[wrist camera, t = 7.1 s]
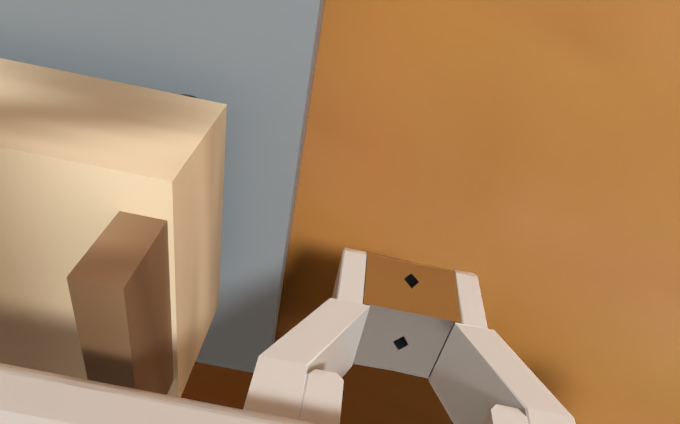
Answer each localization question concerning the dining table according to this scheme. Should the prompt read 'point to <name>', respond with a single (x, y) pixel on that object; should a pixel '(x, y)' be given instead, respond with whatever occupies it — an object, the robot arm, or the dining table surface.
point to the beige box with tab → (107, 227)
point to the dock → (213, 85)
